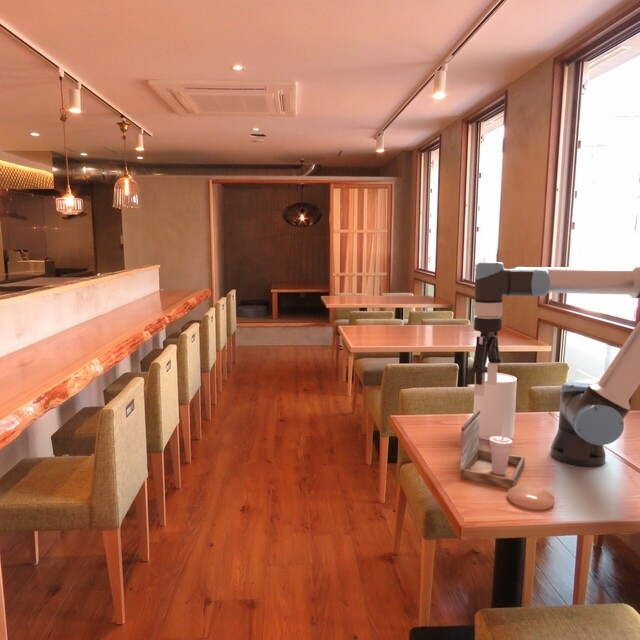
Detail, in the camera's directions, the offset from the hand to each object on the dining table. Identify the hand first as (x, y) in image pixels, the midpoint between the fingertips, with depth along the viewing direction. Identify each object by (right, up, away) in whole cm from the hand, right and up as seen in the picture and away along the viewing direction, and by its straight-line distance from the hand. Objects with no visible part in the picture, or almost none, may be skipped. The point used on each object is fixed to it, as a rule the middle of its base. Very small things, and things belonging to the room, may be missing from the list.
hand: (485, 389), depth 155 cm
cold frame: (+2, -23, -1) cm, 23 cm away
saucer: (+6, -26, -18) cm, 32 cm away
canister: (+12, -19, +30) cm, 38 cm away
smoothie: (+3, -24, -1) cm, 24 cm away
